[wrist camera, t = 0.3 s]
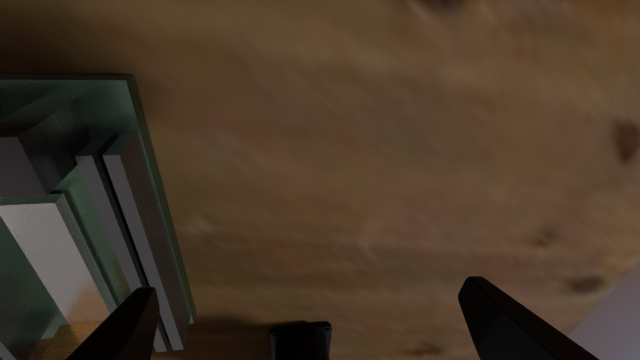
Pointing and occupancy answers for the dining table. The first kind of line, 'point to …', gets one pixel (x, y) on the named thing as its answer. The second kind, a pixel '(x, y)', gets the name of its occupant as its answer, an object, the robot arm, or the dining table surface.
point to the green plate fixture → (87, 200)
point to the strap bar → (60, 266)
